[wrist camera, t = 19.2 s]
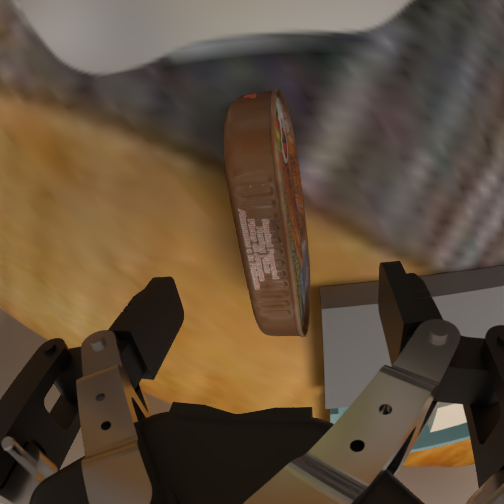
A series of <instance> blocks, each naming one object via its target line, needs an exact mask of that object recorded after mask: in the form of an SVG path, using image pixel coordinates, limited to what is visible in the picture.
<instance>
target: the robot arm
mask: <svg viewBox="0 0 504 504" xmlns="http://www.w3.org/2000/svg"><path fill="white" fill-rule="evenodd" d="M378 310H379V316H380V319H381V323H382V327H383V331H384V335H385V339H386V343H387V348H388V352H389V356H390V361H391V365H392V366H391V367H390V366H388V365H384V366H383V367H382V368H381V369H380V370H379V371H378V372H377V374H376V375H375V376H374V378H373V379H372V380H371V381H370V383H369V384H368V385H367V386H366V388H365V389H364V390H363V391H362V392H361V394H360V395H359V396H358V397H357V398H356V400H355V401H354V402H353V403H352V404H351V406H350V407H349V408H348V409H347V410H346V411H345V413H344V414H343V415H342V416H341V417H340V418H339V419H338V420H337V422H336V423H335V424H333V423H331V422H328V421H325V420H322V419H318V418H313V417H312V407H300V408H272V409H266V410H261V411H255V412H249V413H243V414H233V413H230V412H226V411H223V410H219V409H216V408H213V407H209V406H206V405H200V404H188V403H178V402H173V403H172V406H171V409H170V411H169V412H164V413H159V414H155V415H152V414H151V411H150V408H149V406H148V403H147V400H146V397H145V394H144V391H143V389H142V386H141V385H140V383H139V382H140V380H141V379H151V380H154V378H155V376H156V374H157V372H158V370H159V368H160V366H161V365H162V363H163V361H164V359H165V357H166V355H167V353H168V351H169V349H170V347H171V345H172V343H173V341H174V339H175V337H176V335H177V333H178V331H179V329H180V327H181V325H182V323H183V320H184V310H183V306H182V303H181V300H180V297H179V294H178V291H177V288H176V285H175V282H174V279H173V278H172V277H155V278H153V279H152V280H151V281H150V282H149V284H148V285H147V286H146V287H145V289H144V290H142V291H141V292H139V293H138V294H137V295H135V296H134V297H133V298H132V299H131V301H130V302H129V303H128V306H126V307H125V309H124V310H123V312H121V314H120V315H119V316H118V318H117V319H116V320H115V322H114V323H113V324H112V326H111V327H110V328H109V330H102V331H98V332H95V333H93V334H91V335H90V336H88V337H87V338H86V339H85V340H84V341H83V343H82V345H81V347H77V348H71V349H68V347H67V345H66V344H65V342H64V340H63V339H60V338H55V339H51V340H49V341H47V342H45V343H44V344H42V345H41V346H40V347H39V348H38V350H37V351H36V352H35V354H34V355H33V356H32V358H31V359H30V360H29V361H28V363H27V364H26V365H25V367H24V368H23V369H22V371H21V372H20V373H19V374H18V376H17V377H16V379H15V380H14V381H13V383H12V384H11V385H10V387H9V388H8V390H7V391H6V392H5V394H4V395H3V397H2V398H1V400H0V502H2V503H3V504H424V503H423V502H422V501H421V500H420V499H419V498H418V497H416V496H415V495H414V494H413V493H412V492H411V491H410V490H409V489H407V488H406V487H405V486H404V485H403V484H402V483H401V482H400V481H399V480H398V479H397V478H396V477H395V475H396V474H397V472H398V471H399V469H400V468H401V466H402V465H403V463H404V462H405V460H406V459H407V457H408V455H409V453H410V452H411V450H412V448H413V446H414V444H415V443H416V441H417V439H418V438H419V436H420V434H421V433H422V431H423V429H424V428H425V426H426V424H427V423H428V421H429V419H430V417H431V416H432V414H433V412H434V410H435V408H436V406H437V405H438V403H439V402H444V403H454V404H463V408H464V412H465V416H466V421H467V425H468V430H469V434H470V439H471V444H472V449H473V454H474V460H475V465H476V472H477V478H478V486H479V489H478V490H477V491H476V492H475V493H474V494H473V495H472V496H471V497H470V498H469V500H468V501H467V503H466V504H504V325H497V326H493V327H491V328H490V329H489V330H488V331H487V333H486V335H485V338H474V337H465V336H461V335H460V332H459V330H458V328H457V327H456V326H455V325H454V324H452V323H450V322H448V321H446V320H443V318H442V316H441V314H440V312H439V310H438V308H437V306H436V304H435V302H434V300H433V298H432V297H431V294H430V292H429V290H428V288H427V286H426V284H425V283H424V281H423V280H422V279H421V278H420V277H418V276H417V275H416V274H414V273H410V274H406V272H405V270H404V268H403V266H402V264H401V262H400V261H395V262H383V263H380V266H379V289H378ZM53 384H54V385H55V386H56V388H57V389H58V391H59V392H60V393H61V395H60V397H59V399H58V400H57V402H56V403H55V405H54V407H53V408H52V410H51V412H50V413H48V411H47V410H46V408H45V406H44V398H45V396H46V394H47V393H48V391H49V390H50V388H51V387H52V385H53ZM80 427H81V432H82V439H83V445H84V452H85V456H83V457H82V458H80V459H78V460H77V461H75V462H73V463H71V464H70V465H68V466H66V467H65V468H63V469H61V470H60V467H61V465H62V463H63V461H64V459H65V457H66V455H67V453H68V451H69V449H70V447H71V445H72V443H73V441H74V439H75V437H76V435H77V433H78V431H79V429H80Z"/></svg>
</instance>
